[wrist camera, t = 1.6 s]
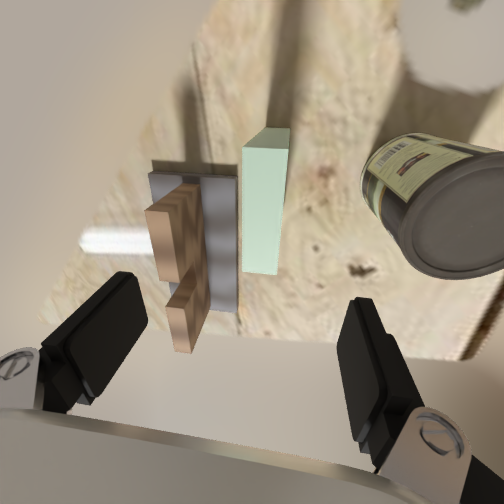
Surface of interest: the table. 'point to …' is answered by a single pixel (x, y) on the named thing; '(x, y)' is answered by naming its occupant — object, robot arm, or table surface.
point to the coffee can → (440, 203)
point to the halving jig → (194, 247)
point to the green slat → (263, 198)
